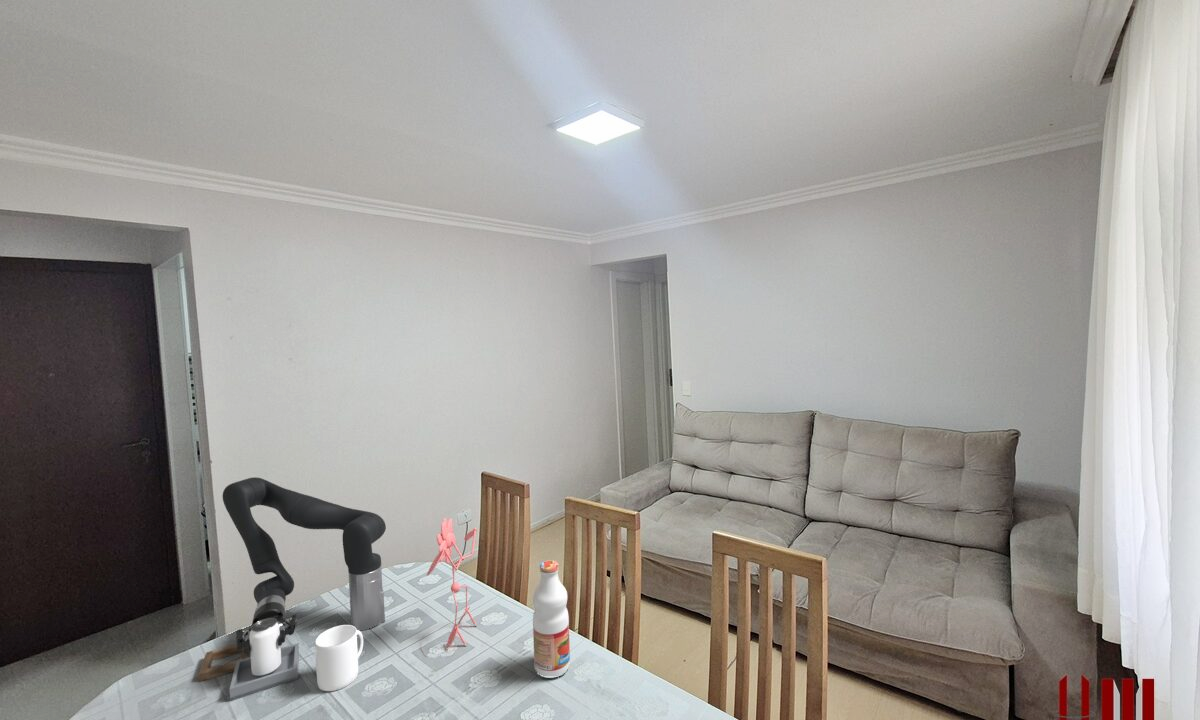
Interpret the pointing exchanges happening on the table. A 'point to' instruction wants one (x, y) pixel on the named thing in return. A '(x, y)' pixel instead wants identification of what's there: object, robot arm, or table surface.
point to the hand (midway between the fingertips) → (264, 646)
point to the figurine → (445, 543)
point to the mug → (337, 657)
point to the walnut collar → (220, 669)
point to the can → (265, 647)
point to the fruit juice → (550, 623)
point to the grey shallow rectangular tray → (250, 683)
